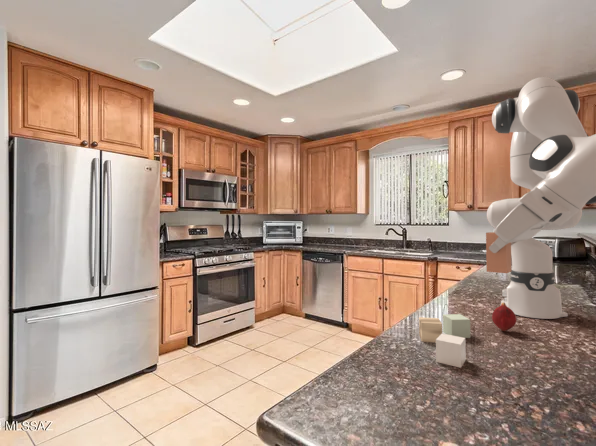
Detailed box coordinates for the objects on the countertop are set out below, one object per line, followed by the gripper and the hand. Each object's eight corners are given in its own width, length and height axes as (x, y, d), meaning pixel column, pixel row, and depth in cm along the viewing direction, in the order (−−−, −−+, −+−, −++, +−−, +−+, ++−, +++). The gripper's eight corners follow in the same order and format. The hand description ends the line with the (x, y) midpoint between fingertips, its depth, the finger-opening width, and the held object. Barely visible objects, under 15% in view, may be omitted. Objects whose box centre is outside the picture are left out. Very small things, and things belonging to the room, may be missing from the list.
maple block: (419, 335, 88) (418, 317, 88) (438, 336, 87) (438, 318, 87) (421, 341, 83) (421, 322, 83) (442, 343, 82) (442, 323, 82)
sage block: (443, 332, 91) (442, 314, 91) (460, 331, 91) (460, 314, 91) (452, 338, 86) (451, 319, 86) (470, 338, 86) (470, 319, 86)
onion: (520, 335, 87) (519, 305, 87) (497, 334, 88) (496, 305, 88) (510, 328, 93) (510, 300, 93) (489, 327, 94) (488, 300, 94)
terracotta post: (491, 269, 77) (491, 232, 77) (511, 271, 74) (510, 232, 74) (486, 271, 74) (486, 232, 74) (506, 273, 71) (506, 232, 71)
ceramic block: (441, 354, 75) (441, 333, 75) (465, 360, 72) (465, 337, 72) (436, 362, 71) (435, 339, 71) (460, 368, 68) (460, 344, 68)
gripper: (544, 198, 76) (497, 238, 83) (523, 193, 62) (469, 242, 69) (568, 216, 73) (518, 256, 80) (552, 215, 59) (493, 264, 66)
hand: (495, 250), depth 74 cm, fingers closed on terracotta post, 4 cm apart
